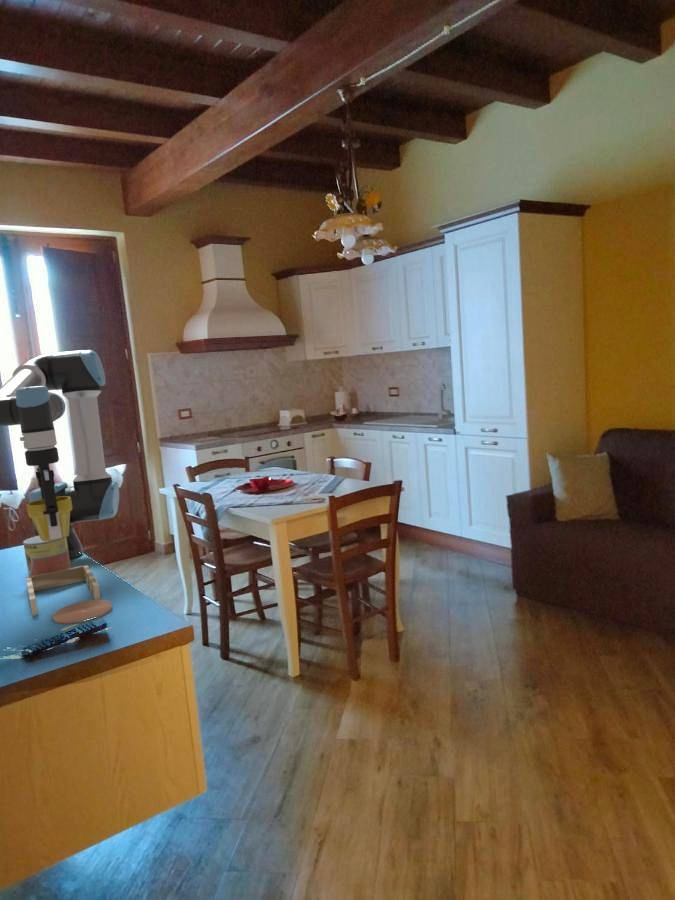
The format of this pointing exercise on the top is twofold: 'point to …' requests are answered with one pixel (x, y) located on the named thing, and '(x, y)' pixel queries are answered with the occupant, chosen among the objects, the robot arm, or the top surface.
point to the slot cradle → (61, 582)
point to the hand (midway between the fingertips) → (54, 534)
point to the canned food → (46, 555)
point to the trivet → (82, 611)
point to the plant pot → (40, 519)
